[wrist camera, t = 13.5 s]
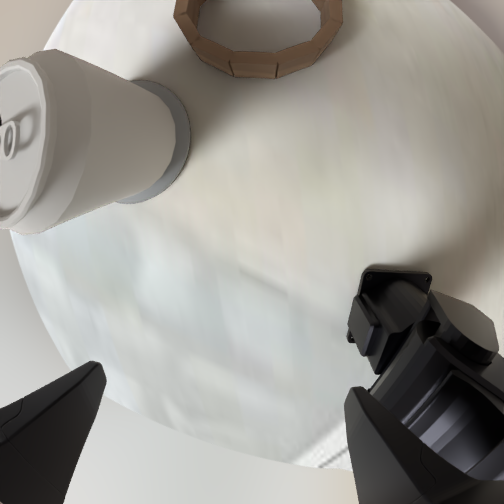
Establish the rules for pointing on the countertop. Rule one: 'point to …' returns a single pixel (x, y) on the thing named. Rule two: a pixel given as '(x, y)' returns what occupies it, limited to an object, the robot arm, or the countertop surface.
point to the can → (74, 140)
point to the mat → (180, 146)
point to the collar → (259, 62)
